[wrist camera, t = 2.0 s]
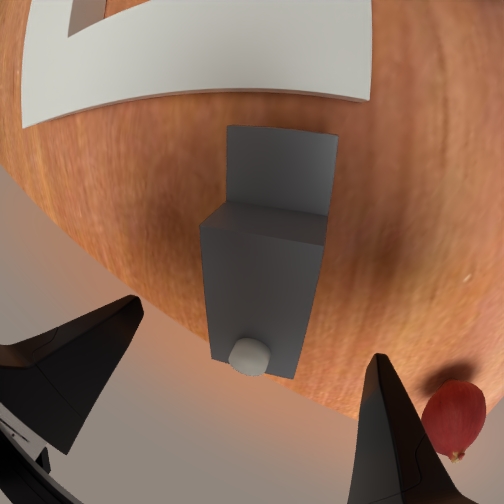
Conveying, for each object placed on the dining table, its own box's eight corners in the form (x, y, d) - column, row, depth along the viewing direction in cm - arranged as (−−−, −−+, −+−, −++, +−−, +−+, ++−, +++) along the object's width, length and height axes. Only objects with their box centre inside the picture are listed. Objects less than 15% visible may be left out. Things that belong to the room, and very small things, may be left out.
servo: (254, 121, 12) (182, 136, 7) (337, 129, 11) (340, 148, 6) (247, 320, 19) (210, 399, 13) (303, 332, 18) (281, 419, 12)
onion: (478, 382, 16) (490, 456, 9) (425, 404, 19) (426, 478, 12) (474, 350, 14) (494, 439, 8) (412, 377, 17) (414, 467, 11)
